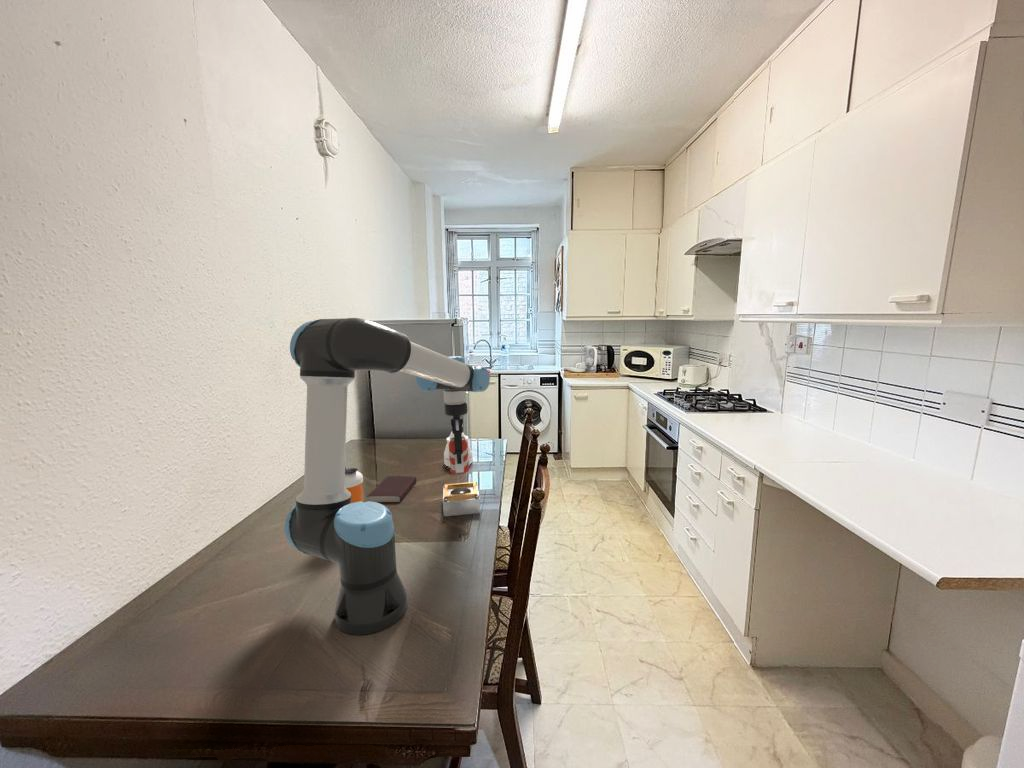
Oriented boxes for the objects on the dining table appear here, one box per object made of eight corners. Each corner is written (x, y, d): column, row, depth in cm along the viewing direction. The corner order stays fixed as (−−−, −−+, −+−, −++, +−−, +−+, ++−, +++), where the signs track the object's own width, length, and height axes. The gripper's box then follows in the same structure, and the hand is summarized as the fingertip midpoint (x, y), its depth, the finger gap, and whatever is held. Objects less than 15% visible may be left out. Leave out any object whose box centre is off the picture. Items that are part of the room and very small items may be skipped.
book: (417, 483, 170) (416, 475, 170) (400, 503, 151) (400, 494, 151) (386, 483, 172) (386, 476, 171) (367, 503, 152) (366, 495, 152)
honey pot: (462, 457, 201) (460, 420, 199) (478, 463, 191) (476, 424, 189) (439, 463, 193) (436, 425, 191) (454, 470, 183) (451, 429, 181)
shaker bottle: (357, 539, 125) (351, 474, 123) (330, 537, 127) (324, 473, 125) (372, 525, 134) (367, 464, 131) (347, 523, 136) (341, 463, 133)
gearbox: (480, 512, 140) (479, 495, 139) (443, 516, 139) (442, 498, 138) (477, 496, 154) (476, 480, 153) (444, 499, 152) (443, 483, 151)
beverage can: (448, 475, 142) (446, 441, 140) (454, 469, 148) (452, 436, 147) (466, 476, 141) (464, 441, 139) (470, 469, 147) (468, 436, 146)
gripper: (468, 407, 132) (472, 477, 136) (465, 397, 151) (469, 459, 154) (444, 408, 131) (448, 479, 135) (444, 398, 150) (448, 461, 153)
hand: (459, 468), depth 144 cm, fingers closed on beverage can, 6 cm apart
